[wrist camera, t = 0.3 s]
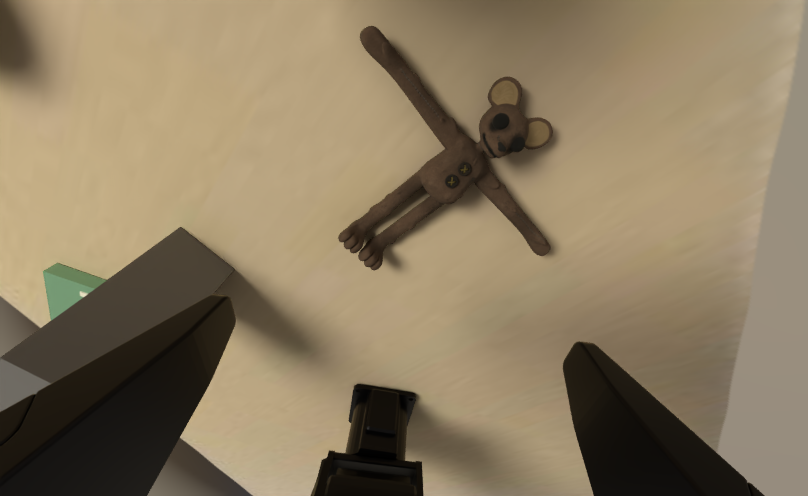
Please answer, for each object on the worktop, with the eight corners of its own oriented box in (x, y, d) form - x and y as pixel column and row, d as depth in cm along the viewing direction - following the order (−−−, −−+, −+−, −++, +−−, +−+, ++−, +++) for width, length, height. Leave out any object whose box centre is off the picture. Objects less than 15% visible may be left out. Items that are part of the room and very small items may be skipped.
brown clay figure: (243, 165, 20) (428, -67, 13) (275, 143, 23) (434, -49, 16) (436, 333, 26) (629, 238, 19) (438, 295, 29) (602, 204, 22)
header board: (178, 305, 29) (158, 326, 27) (170, 363, 34) (153, 386, 32) (57, 262, 28) (25, 281, 25) (66, 330, 32) (39, 351, 30)
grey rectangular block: (234, 269, 27) (109, 412, 16) (201, 297, 29) (70, 443, 18) (180, 226, 25) (-1, 357, 14) (149, 260, 27) (-31, 397, 16)
